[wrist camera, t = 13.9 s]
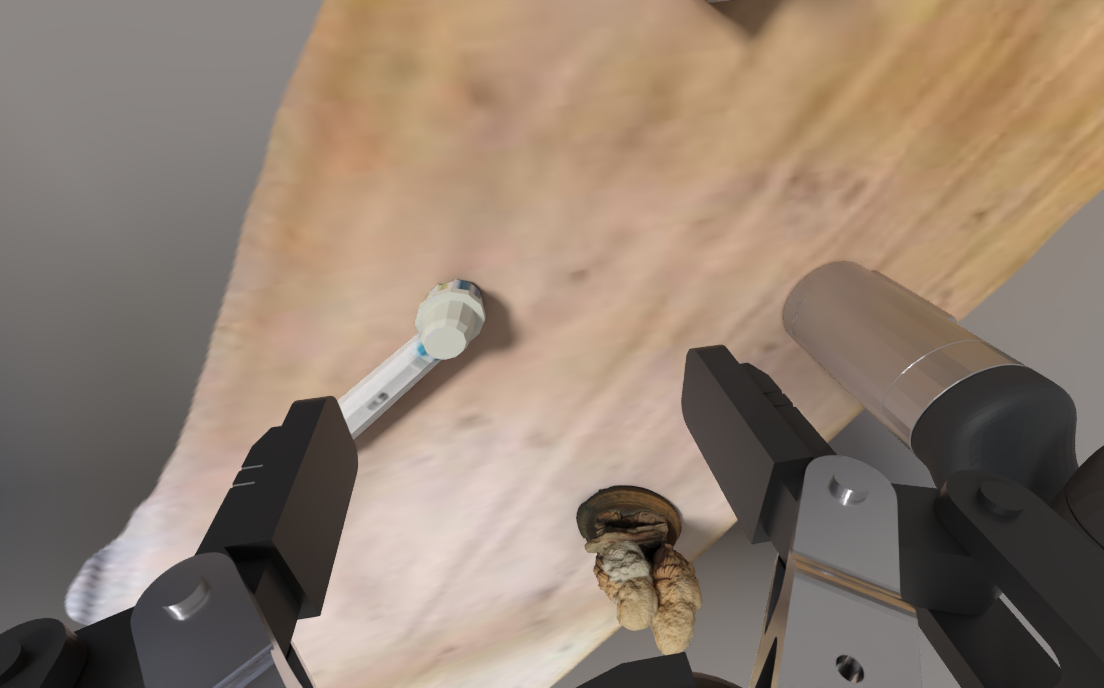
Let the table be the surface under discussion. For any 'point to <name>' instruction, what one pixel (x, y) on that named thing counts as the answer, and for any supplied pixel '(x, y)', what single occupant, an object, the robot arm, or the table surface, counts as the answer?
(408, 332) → the table surface
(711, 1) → the walled crate
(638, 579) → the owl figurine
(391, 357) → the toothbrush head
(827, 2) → the table surface
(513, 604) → the table surface
